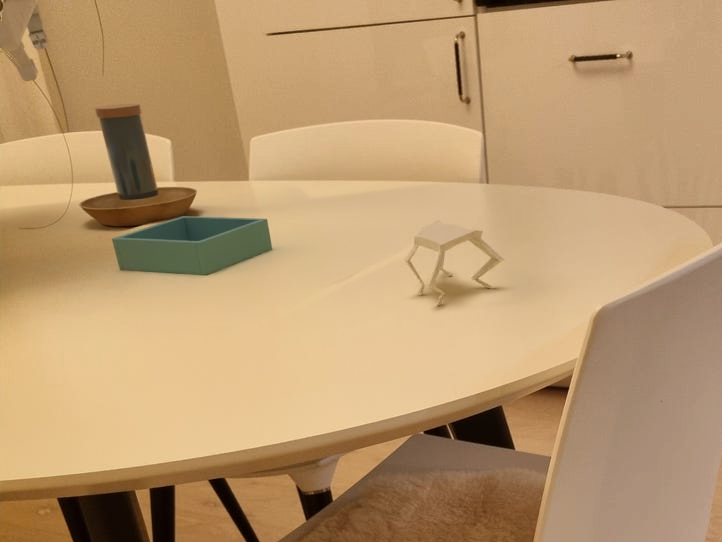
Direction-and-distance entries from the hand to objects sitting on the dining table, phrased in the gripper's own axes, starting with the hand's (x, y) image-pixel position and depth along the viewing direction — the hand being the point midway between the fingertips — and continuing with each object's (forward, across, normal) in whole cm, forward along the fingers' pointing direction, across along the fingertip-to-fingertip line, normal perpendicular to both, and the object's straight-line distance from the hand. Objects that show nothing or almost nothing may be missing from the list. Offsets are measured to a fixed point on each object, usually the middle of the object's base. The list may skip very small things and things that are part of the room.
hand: (37, 62), depth 118 cm
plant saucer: (+16, +13, +8) cm, 22 cm away
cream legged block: (+5, +59, +46) cm, 75 cm away
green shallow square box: (+8, +41, +20) cm, 46 cm away
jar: (+13, +12, +8) cm, 20 cm away
